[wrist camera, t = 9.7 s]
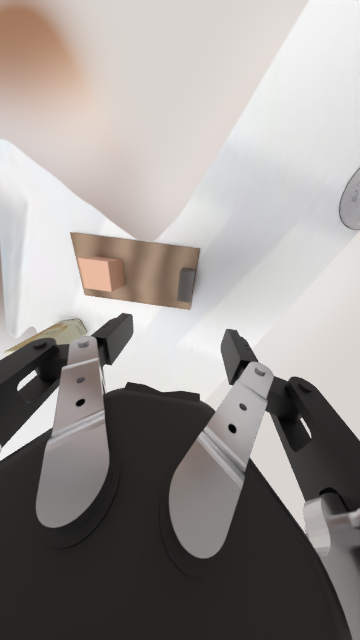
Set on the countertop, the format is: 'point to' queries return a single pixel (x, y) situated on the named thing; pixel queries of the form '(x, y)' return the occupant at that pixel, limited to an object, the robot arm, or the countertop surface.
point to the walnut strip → (144, 269)
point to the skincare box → (56, 334)
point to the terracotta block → (101, 273)
